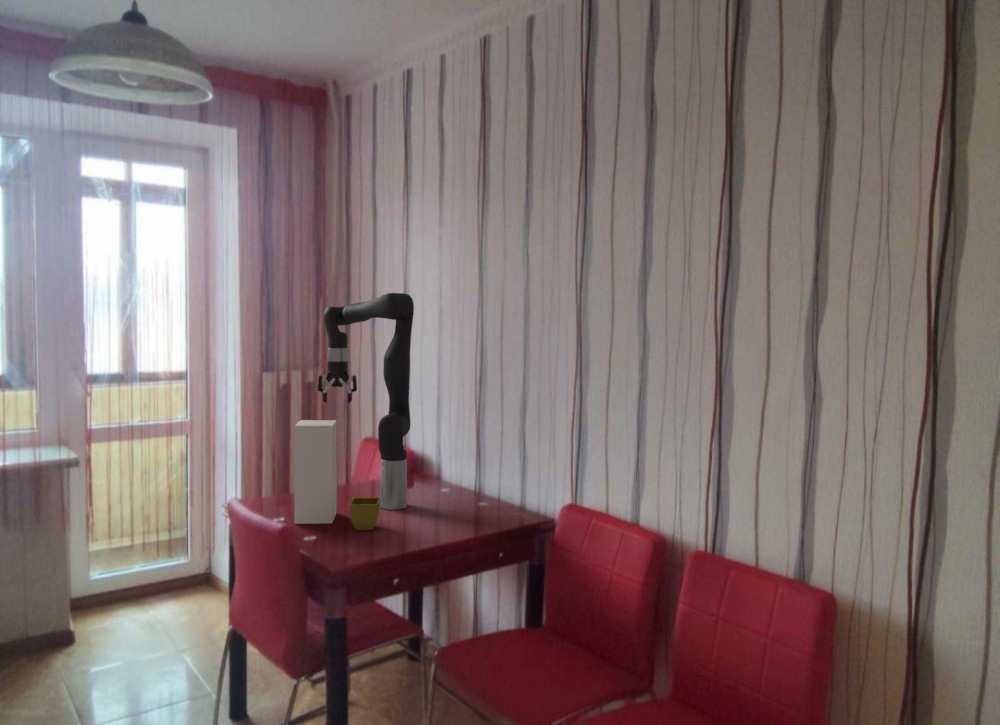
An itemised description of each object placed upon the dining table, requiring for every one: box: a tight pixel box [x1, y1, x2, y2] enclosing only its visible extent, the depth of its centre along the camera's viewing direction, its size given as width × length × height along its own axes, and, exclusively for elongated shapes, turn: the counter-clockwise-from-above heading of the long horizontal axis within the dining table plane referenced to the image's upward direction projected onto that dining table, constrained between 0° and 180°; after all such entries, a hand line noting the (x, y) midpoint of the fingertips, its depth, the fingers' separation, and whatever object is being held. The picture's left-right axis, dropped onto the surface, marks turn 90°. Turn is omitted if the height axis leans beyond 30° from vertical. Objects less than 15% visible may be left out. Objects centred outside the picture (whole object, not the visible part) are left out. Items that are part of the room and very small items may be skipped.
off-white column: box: [293, 419, 338, 525], centre depth 248 cm, size 12×12×32 cm
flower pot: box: [349, 497, 381, 531], centre depth 239 cm, size 9×9×9 cm
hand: (337, 402), depth 283 cm, fingers open, 8 cm apart
